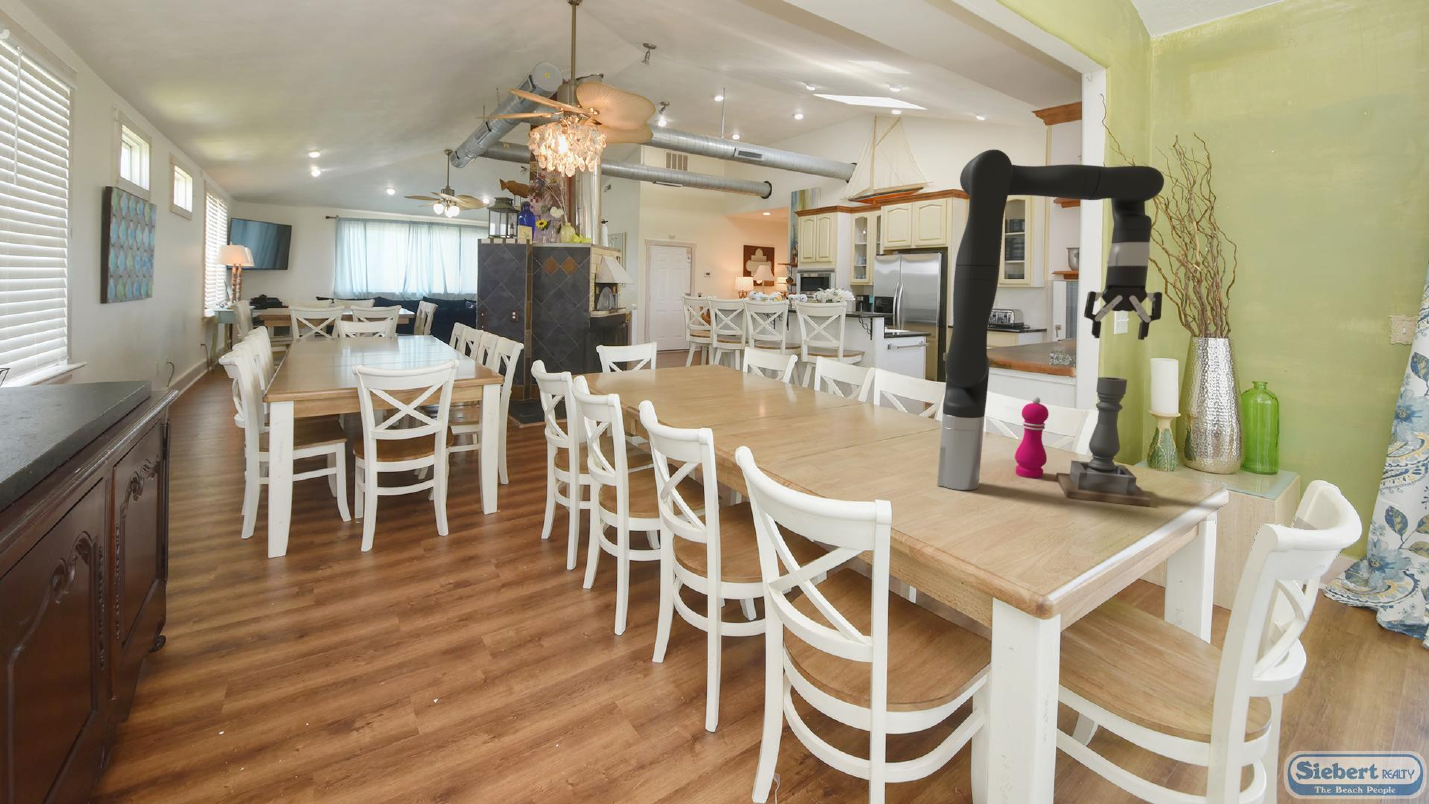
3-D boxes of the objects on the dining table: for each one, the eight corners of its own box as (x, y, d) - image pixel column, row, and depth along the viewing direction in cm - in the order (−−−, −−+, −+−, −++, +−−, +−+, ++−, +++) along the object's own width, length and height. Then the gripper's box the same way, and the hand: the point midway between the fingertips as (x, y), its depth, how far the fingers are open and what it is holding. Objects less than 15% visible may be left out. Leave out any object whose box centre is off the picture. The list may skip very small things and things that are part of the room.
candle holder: (1078, 481, 150) (1090, 377, 145) (1103, 481, 150) (1115, 377, 146) (1095, 489, 144) (1108, 380, 139) (1121, 489, 144) (1135, 380, 140)
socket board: (1066, 497, 143) (1069, 474, 142) (1056, 478, 157) (1058, 456, 156) (1149, 506, 137) (1153, 482, 136) (1130, 485, 152) (1133, 463, 151)
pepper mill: (1048, 479, 156) (1057, 400, 153) (1017, 477, 158) (1024, 398, 154) (1040, 471, 163) (1047, 395, 160) (1010, 469, 165) (1017, 394, 161)
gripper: (1094, 264, 137) (1085, 338, 140) (1171, 263, 132) (1161, 341, 135) (1087, 265, 144) (1079, 336, 147) (1160, 265, 139) (1151, 338, 142)
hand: (1118, 338), depth 141 cm, fingers open, 8 cm apart
